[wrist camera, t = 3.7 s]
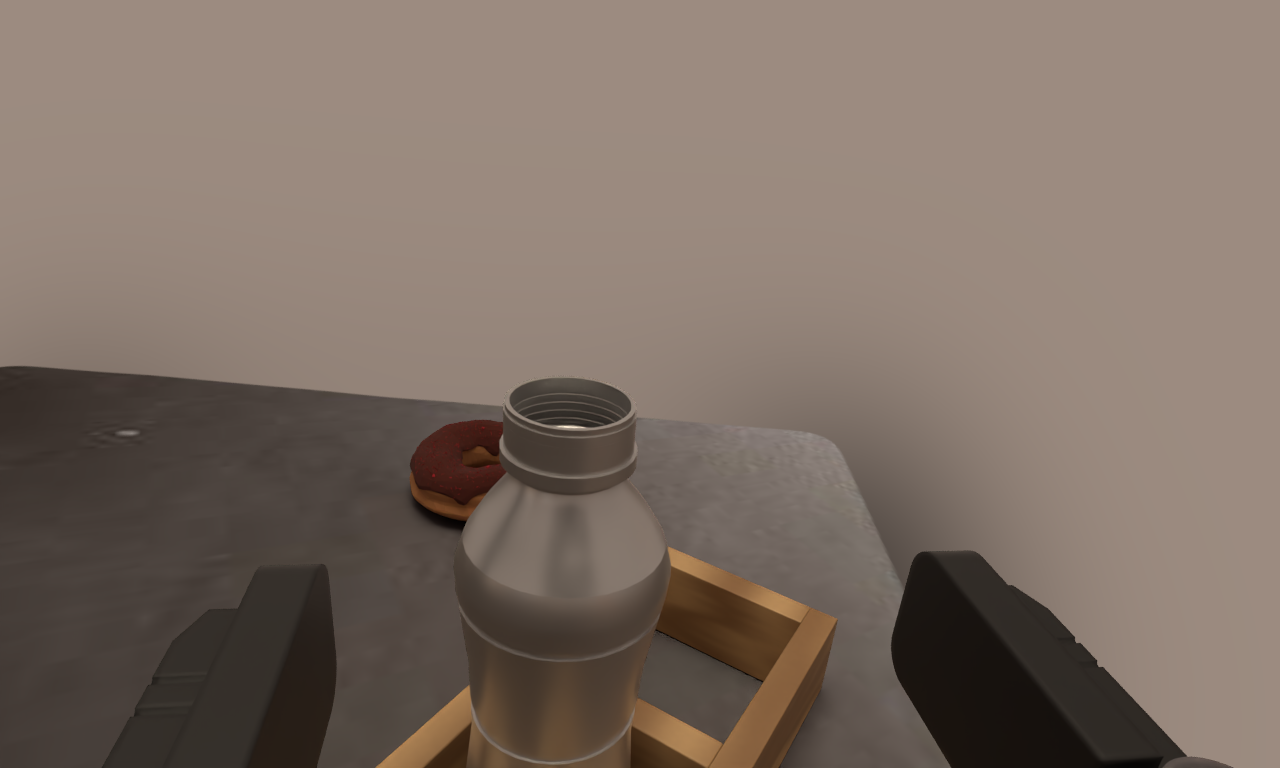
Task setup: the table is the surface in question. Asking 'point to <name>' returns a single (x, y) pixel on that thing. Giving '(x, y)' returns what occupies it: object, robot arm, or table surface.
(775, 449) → the table surface
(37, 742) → the table surface
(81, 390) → the table surface
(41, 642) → the table surface
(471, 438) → the donut
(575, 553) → the grey metal bottle
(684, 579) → the caddy
